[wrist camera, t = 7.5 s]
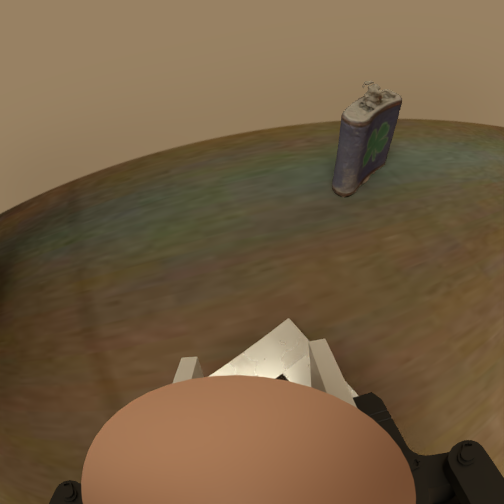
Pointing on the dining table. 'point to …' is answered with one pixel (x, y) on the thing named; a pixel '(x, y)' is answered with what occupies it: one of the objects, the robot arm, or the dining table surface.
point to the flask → (365, 138)
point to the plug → (244, 448)
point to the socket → (276, 357)
